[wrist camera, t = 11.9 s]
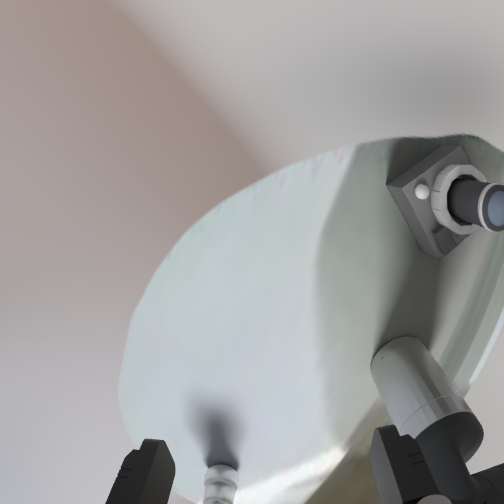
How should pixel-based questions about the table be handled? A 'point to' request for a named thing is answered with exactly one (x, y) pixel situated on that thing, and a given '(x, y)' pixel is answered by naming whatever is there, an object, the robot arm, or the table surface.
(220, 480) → the plastic bottle
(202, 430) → the table surface
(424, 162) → the camera body
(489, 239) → the table surface
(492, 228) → the lens
